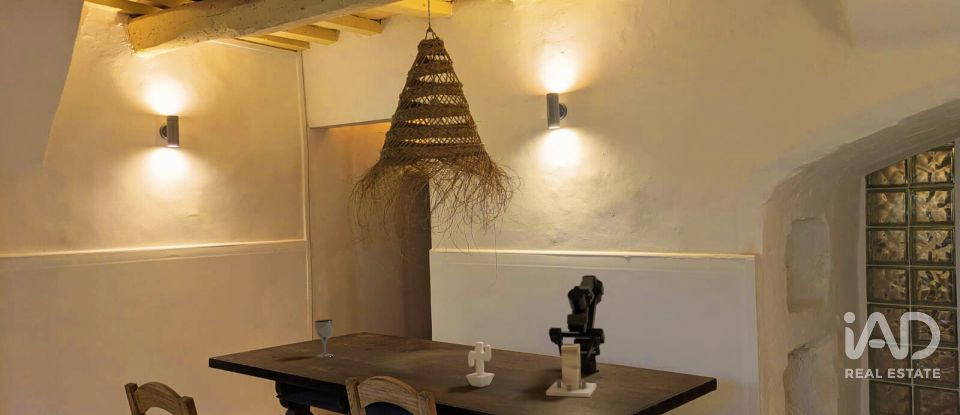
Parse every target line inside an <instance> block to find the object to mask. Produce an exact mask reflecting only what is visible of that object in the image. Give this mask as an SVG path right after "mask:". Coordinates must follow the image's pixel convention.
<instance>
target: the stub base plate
mask: <svg viewBox="0 0 960 415" xmlns="http://www.w3.org/2000/svg"><path fill="white" fill-rule="evenodd" d="M596 388H597V383H595V382H594V383H593V382H592V383H591V382H581V387H580V388H579V389H578V390H577V389H571V385H567V389H563V385H562V381H555V382H554V383H553V384H551V386H550V387H549V388H548V389H547V390H546V391H545V394H546V396H555V397H578V398H590V396H592V393H593V392H594V391H595V390H596Z"/></svg>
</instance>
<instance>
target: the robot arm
mask: <svg viewBox="0 0 960 415" xmlns="http://www.w3.org/2000/svg"><path fill="white" fill-rule="evenodd" d="M581 279H582V280H581V281H580V284H579V285H574V286H573V288H571V289H570V290H569V291H568V292H567V299H568V303H569V307H570V309H571V313H568V314H567V315H566V325H567V330H568V331H563V330H562V327H556V326H555V327H550V328H549V329H548V336H549V339H550V342H551V343H554V345H557V347H558V352H559V356H560V357H561V358H562V355H561V346H562V345H563V344H564V339H565V338H571V339H573V344H580V366H581V373H583V374H591V373H598V372H600V369H598V368H597V359H596V358H597V357H598V356H600V355H601V348H600V346H601V344H602V345H603V344H605V341H606V335H605V332H604V329H603V328H601V327H595V322H596V312H597V305H599V304H600V302H602V299H603V296H604V295H605V288H604V284H603V282H602V281H601V280H600V279H598V278H597V276H596V275H593V274H590V275H587V274H585V275H583V276H582V278H581Z"/></svg>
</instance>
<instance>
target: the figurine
mask: <svg viewBox="0 0 960 415" xmlns="http://www.w3.org/2000/svg"><path fill="white" fill-rule="evenodd" d="M474 344H475V345H474V350H469V352H468V354H467V358H468V359H467V361H468V366H469V367H474V366H475V372H473V373H470V374H469V373H468V374H466V375H465V377H466V379H467V380H468V382H469V383H470V385H471V387H478V388H484V387H487V386H489V385H490V384H491V382H492V381H493V378H494V376H495V373H493V372H491V373H490V372H485V362H489V361H490V360H491V359H492V347H491V345H490V344H486V345H484V342H483V341H475V342H474ZM484 346H485V347H484Z"/></svg>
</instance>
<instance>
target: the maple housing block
mask: <svg viewBox="0 0 960 415" xmlns="http://www.w3.org/2000/svg"><path fill="white" fill-rule="evenodd" d="M561 355H562V357H561V379H562V381H561V382H562V385H563V389H567V385H571V389H577V390H578V389H579V388H580V387H581V383H582V374H581V373H582V372H581V366H580V344H574V343H563V345H562V346H561Z"/></svg>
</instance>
